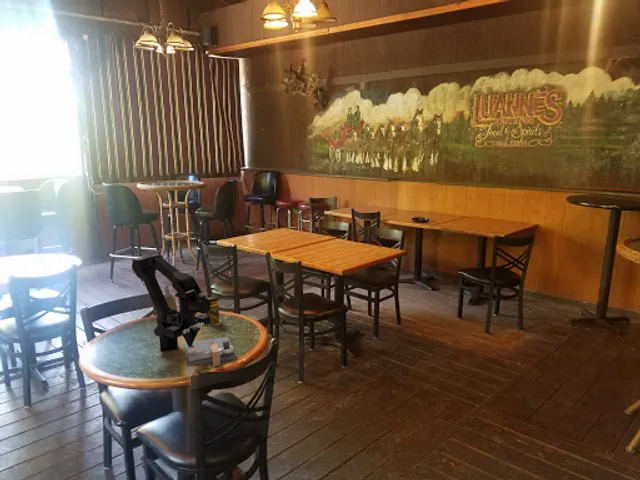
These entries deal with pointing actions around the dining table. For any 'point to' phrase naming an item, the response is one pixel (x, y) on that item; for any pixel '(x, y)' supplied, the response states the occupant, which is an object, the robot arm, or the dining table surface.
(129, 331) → the dining table surface
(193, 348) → the swing arm
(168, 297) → the squeeze bottle
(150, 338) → the dining table surface
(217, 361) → the bracket
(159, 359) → the dining table surface
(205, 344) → the slate board
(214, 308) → the condiment
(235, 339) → the dining table surface
